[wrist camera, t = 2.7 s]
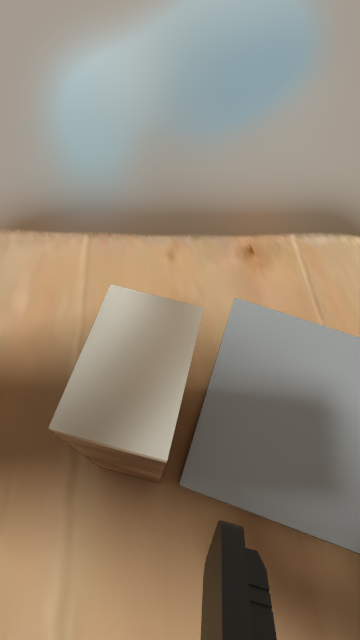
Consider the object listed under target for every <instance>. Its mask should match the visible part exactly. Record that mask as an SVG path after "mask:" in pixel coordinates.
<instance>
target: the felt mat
mask: <svg viewBox="0 0 360 640" xmlns="http://www.w3.org/2000/svg"><path fill="white" fill-rule="evenodd" d="M179 485H180V486H182V487H185V488H188V489H190V490H193V491H195V492H198V493H201V494H203V495H206V496H209V497H211V498H214V499H216V500H219V501H222V502H224V503H227V504H230V505H232V506H235V507H237V508H240V509H243V510H245V511H248V512H251V513H253V514H256V515H258V516H261V517H264V518H266V519H269V520H272V521H274V522H277V523H279V524H282V525H285V526H287V527H290V528H293V529H295V530H298V531H300V532H303V533H306V534H308V535H311V536H314V537H316V538H319V539H321V540H324V541H327V542H329V543H332V544H335V545H337V546H340V547H342V548H345V549H348V550H350V551H353V552H356V553H358V554H360V337H357V336H353V335H350V334H347V333H344V332H341V331H338V330H335V329H332V328H328V327H325V326H322V325H319V324H316V323H313V322H310V321H306V320H303V319H300V318H297V317H294V316H291V315H288V314H285V313H281V312H278V311H275V310H272V309H269V308H266V307H263V306H260V305H256V304H253V303H250V302H247V301H244V300H241V299H238V298H235V299H234V302H233V305H232V309H231V312H230V315H229V319H228V322H227V325H226V329H225V332H224V335H223V339H222V342H221V345H220V349H219V352H218V355H217V359H216V362H215V365H214V369H213V372H212V375H211V379H210V382H209V385H208V389H207V392H206V395H205V399H204V402H203V405H202V409H201V412H200V415H199V419H198V422H197V425H196V429H195V432H194V435H193V439H192V442H191V445H190V449H189V452H188V455H187V459H186V462H185V465H184V469H183V472H182V475H181V479H180V482H179Z"/></svg>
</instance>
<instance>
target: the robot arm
mask: <svg viewBox="0 0 360 640" xmlns="http://www.w3.org/2000/svg"><path fill="white" fill-rule="evenodd" d="M271 609H272V605H271V598H270V594H269V584H268V577H267V571H266V568H265V566H264V564H263V562H262V560H261V558H260V556H259V554H258V552H257V551H255V550H251V549H248V548H245V540H244V530H243V527H242V526H238V525H235V524H231V523H228V522H224V521H220V520H219V521H218V524H217V527H216V530H215V533H214V536H213V539H212V542H211V545H210V548H209V551H208V555H207V558H206V563H205V569H204V577H203V598H202V621H201V640H277V639H276V632H275V625H274V618H273V611H272V610H271Z"/></svg>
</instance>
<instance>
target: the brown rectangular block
mask: <svg viewBox="0 0 360 640" xmlns="http://www.w3.org/2000/svg"><path fill="white" fill-rule="evenodd" d="M203 310H204V307H200V306H196V305H192V304H188V303H184V302H180V301H176V300H172V299H168V298H164V297H160V296H155V295H151V294H147V293H143V292H139V291H135V290H131V289H127V288H123V287H119V286H115V285H110V287H109V290H108V292H107V294H106V297H105V299H104V301H103V304H102V306H101V308H100V310H99V313H98V315H97V317H96V320H95V322H94V324H93V326H92V329H91V331H90V333H89V336H88V338H87V340H86V343H85V345H84V347H83V349H82V352H81V354H80V356H79V359H78V361H77V363H76V366H75V368H74V370H73V372H72V375H71V377H70V379H69V382H68V384H67V386H66V389H65V391H64V393H63V395H62V398H61V400H60V402H59V405H58V407H57V409H56V412H55V414H54V416H53V418H52V421H51V423H50V425H49V428H48V429H49V430H51V431H52V432H53V433H55V434H56V435H57V436H59V437H60V438H61V439H63V440H64V441H65V442H66V443H68V444H69V445H70V446H72V447H73V448H74V449H76V450H77V451H78V452H80V453H81V454H82V455H84V456H85V457H86V458H88V459H89V460H90V461H92V462H93V463H94V464H96V465H97V466H98V467H101V468H105V469H108V470H112V471H116V472H119V473H123V474H126V475H130V476H134V477H137V478H141V479H145V480H148V481H152V482H156V483H159V481H160V478H161V476H162V473H163V471H164V468H165V465H166V463H167V460H168V456H169V451H170V447H171V443H172V439H173V435H174V431H175V426H176V422H177V418H178V414H179V410H180V406H181V401H182V397H183V393H184V389H185V385H186V381H187V376H188V372H189V368H190V364H191V360H192V356H193V351H194V347H195V343H196V339H197V335H198V331H199V326H200V322H201V318H202V314H203Z"/></svg>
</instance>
